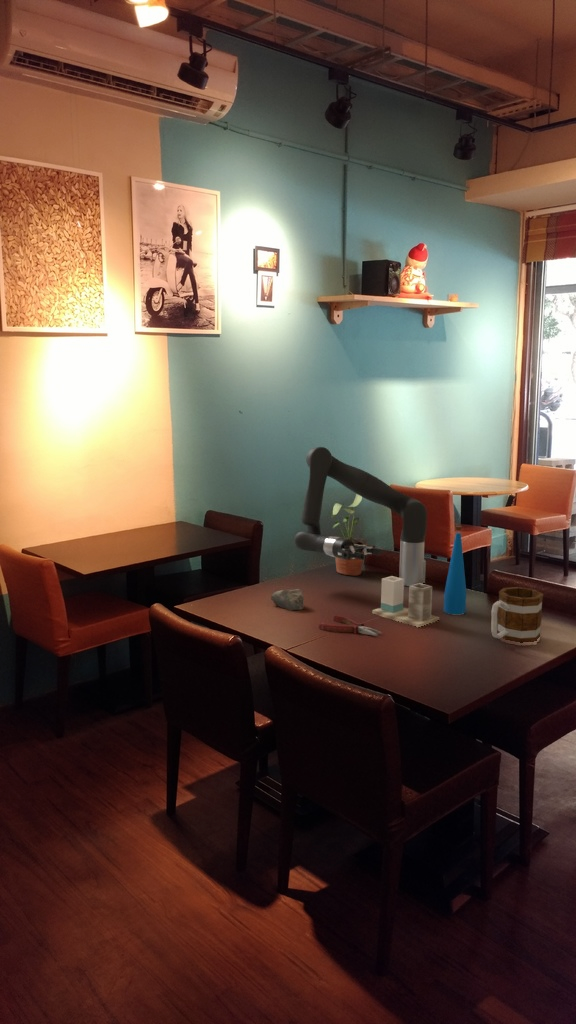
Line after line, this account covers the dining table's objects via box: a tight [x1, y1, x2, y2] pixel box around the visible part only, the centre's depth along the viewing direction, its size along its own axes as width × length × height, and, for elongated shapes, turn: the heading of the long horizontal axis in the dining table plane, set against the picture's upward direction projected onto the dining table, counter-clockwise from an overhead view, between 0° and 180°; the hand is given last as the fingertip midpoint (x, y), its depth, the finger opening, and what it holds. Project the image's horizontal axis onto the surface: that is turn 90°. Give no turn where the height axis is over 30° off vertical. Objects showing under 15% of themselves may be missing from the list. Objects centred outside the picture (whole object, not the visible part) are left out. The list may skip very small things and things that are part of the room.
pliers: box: [318, 614, 383, 637], centre depth 253 cm, size 12×20×3 cm, turn 55°
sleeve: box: [380, 575, 405, 613], centre depth 269 cm, size 5×5×11 cm
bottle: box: [443, 525, 467, 614], centre depth 270 cm, size 7×7×30 cm
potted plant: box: [329, 493, 368, 577], centre depth 320 cm, size 16×15×35 cm
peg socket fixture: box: [371, 583, 440, 628], centre depth 265 cm, size 20×11×12 cm, turn 43°
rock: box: [270, 588, 305, 612], centre depth 278 cm, size 13×9×6 cm, turn 52°
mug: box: [490, 586, 544, 643], centre depth 243 cm, size 20×14×15 cm
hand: (372, 554), depth 275 cm, fingers open, 8 cm apart
